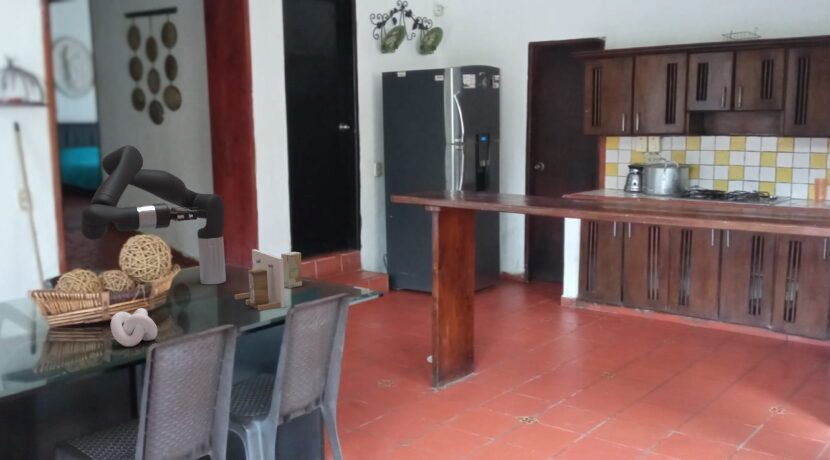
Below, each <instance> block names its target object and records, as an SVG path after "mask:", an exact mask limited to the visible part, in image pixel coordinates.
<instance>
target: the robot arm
mask: <svg viewBox="0 0 830 460" xmlns="http://www.w3.org/2000/svg"><path fill="white" fill-rule="evenodd" d="M143 164H144V158H143V155H142V154H141V151H140V150H139V149H137V147H135V146H134V145H123V146H120V147H119V148H117V149H116V150H114V151H111V152H110V153H108V154H107V155H106V156H104V158H103V159H102V162H101V166H102V168H103V170H104V171H105V173H106V174H107V175H108V177H107V178H106V179H104V181H102V182H101V184H100V185H99V186H98V188H97V189H96V191H95V192H94V194H93V196H92V198H91V201H90V205H87V206H86V207H84V208H83V210H82V212H81V224H80V230H81V234H82V236H83V237H84V238H85V239H87V240H91V241H96V240H100V239H102V238H103V237H105V236H106V234H107V232H108V229H109V227H110V223H114V225H115V228H116V230H118V231H120V232H128V231H138V230H139V231H142V230H144V231H146V230H156V229H157V230H158V229H165V228H168V227H170V224H171V221H173V222H174V221H175V222H181V221H183V222H184V221H192V220H194V221H196V220H197V219H204V220H206V222H205V226H204V227H201V228H199V229H198V230H197V245H198V247H197V248H198V260H199V261H198V262H199V276H200V277H199V278H200V284H202V285H218V284H223V283H225V282H226V281H227V274H226V261H225V245H224V243H225V242H224V230H225V204H224V200H223V198H222V197H221V196H220V195H219V194H216V193H215V194H214V193H201V192H200V193H199V192H196V191H194V190H191V189H189V188H188V187H187V185H185V182H184V181H183V180H182V179H181V178H180V177H178V176H176V175H174V174H172V173H170V172H168V171H167V170H166V171H165V170H160V169H149V168H148V169H144V168H143V166H144V165H143ZM129 185H130V186H131V187H135V188H138V189H140V190H142V191H144V192H147V193H149V194H151V195H154V196H155V197H157V198H159V199H161V200H163V201H166V202H168V203H170V204H172V205H174V206H177V207H171V208H169V206H168V204H167V203H164V202H163V203H153V204H151V203H149V204H141V205H137V206H127V207H126V206H125V207H119V206H118V204H119V201H120V199H121V198H122V196H123V194H124V192H125V190H126V189H127V188H128V186H129ZM117 206H118V207H117ZM191 215H192V216H191Z"/></svg>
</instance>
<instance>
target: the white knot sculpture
mask: <svg viewBox="0 0 830 460" xmlns="http://www.w3.org/2000/svg"><path fill="white" fill-rule="evenodd" d="M148 315H149V313H148V310H147V309H146V308H143V307H141V308H140V307H139V308H137V309H135V311H134V312H133V313H132V314H131V313H129V312H126V311H118V312H117V313H115V314H113V315H112V317H111V321H110V331H111V335H112V336H113V337H114V340H116V341H117V342H118V344H120V345H121V346H123V347H126V348H131V347H135V346H137V345H138V344H139V343H140V342H141V341H142V340H143V341H146V342H148V341H153V340H155V338H157V336H158V332H159V331H158V326H157V325H156V322H154V320H153V319H152V318H151V317H150V316H148Z"/></svg>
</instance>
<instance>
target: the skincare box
mask: <svg viewBox="0 0 830 460" xmlns="http://www.w3.org/2000/svg"><path fill="white" fill-rule="evenodd" d="M280 256H281V257H280V258H283V271H284V288H288V289H292V288H296V287H301V286H303V275H302V274H303V271H302V253H301V252H298V251H291V252H285V253H281V255H280Z"/></svg>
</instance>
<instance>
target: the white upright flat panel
mask: <svg viewBox="0 0 830 460" xmlns="http://www.w3.org/2000/svg"><path fill="white" fill-rule="evenodd" d="M251 255H252V256H251V257H252V270H254V269H264V270H267V281H268V299H269V304H264V305H258V309H257V311H258V312H260V311H266V310H271V309H278V308H286V296H285V295H286V293H285V287H284V271H283V258H281V257H279V256H276V255H274V254H271V253H269V252H268V253H267V252H264V251H261V250H259V249H255V248H254V249H251ZM248 298H249V299H248ZM242 299H243V300H244V299H245V305H247V306H250V291H249V292H244V293H237V294H234V300H236V301H237V300H242Z"/></svg>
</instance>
